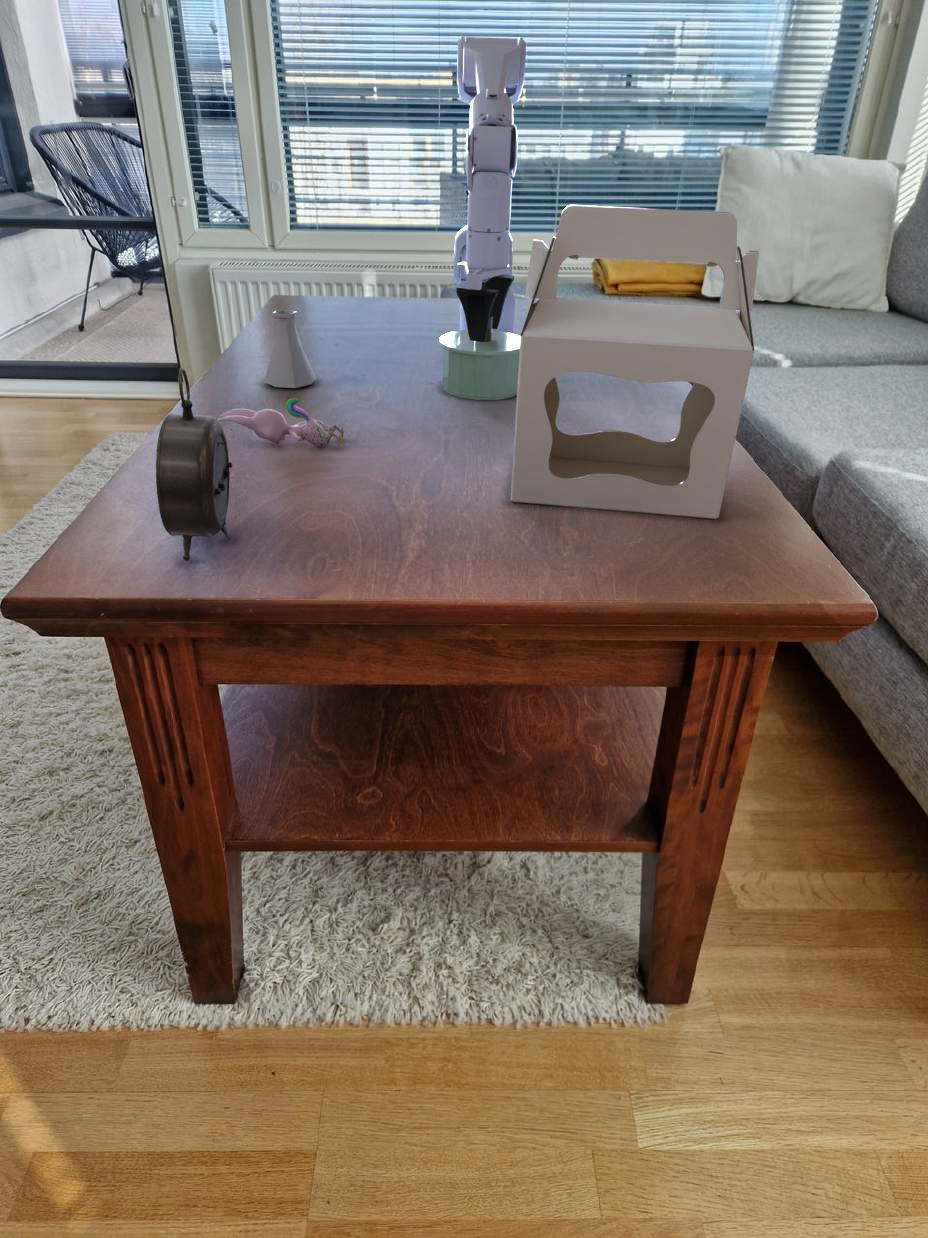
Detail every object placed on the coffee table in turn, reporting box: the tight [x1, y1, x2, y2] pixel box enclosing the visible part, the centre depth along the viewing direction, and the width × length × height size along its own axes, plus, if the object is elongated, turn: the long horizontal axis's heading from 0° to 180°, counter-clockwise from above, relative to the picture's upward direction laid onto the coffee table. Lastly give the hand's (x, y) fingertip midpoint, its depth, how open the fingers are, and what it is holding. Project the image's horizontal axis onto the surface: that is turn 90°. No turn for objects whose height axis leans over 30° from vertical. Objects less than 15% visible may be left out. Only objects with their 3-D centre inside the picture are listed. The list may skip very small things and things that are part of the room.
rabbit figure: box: [216, 397, 345, 449], centre depth 99 cm, size 6×6×15 cm
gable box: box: [510, 204, 760, 520], centre depth 85 cm, size 22×13×28 cm, turn 82°
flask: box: [263, 308, 317, 389], centre depth 119 cm, size 7×7×10 cm
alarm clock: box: [155, 367, 233, 562], centre depth 74 cm, size 11×5×16 cm, turn 5°
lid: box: [438, 315, 521, 355], centre depth 118 cm, size 13×13×4 cm
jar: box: [442, 347, 520, 401], centre depth 120 cm, size 12×12×6 cm
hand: (484, 334), depth 118 cm, fingers open, 7 cm apart
